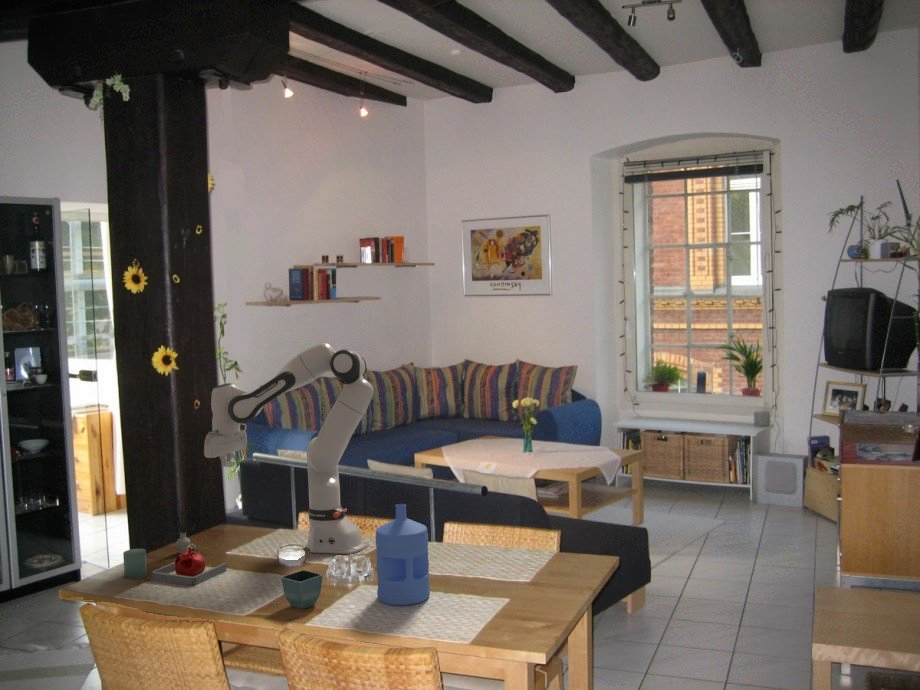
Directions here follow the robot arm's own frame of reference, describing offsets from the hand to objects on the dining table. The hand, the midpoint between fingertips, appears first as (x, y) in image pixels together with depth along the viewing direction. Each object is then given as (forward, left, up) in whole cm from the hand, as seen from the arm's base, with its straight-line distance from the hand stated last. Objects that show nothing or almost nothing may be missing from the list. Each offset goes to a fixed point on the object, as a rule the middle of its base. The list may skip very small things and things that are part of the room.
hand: (226, 465), depth 332 cm
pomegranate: (-10, +33, -29) cm, 45 cm away
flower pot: (-62, +45, -29) cm, 82 cm away
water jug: (-87, +29, -29) cm, 96 cm away
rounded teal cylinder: (+7, +40, -29) cm, 50 cm away
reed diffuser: (+10, +14, -29) cm, 34 cm away
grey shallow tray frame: (-10, +33, -29) cm, 45 cm away
